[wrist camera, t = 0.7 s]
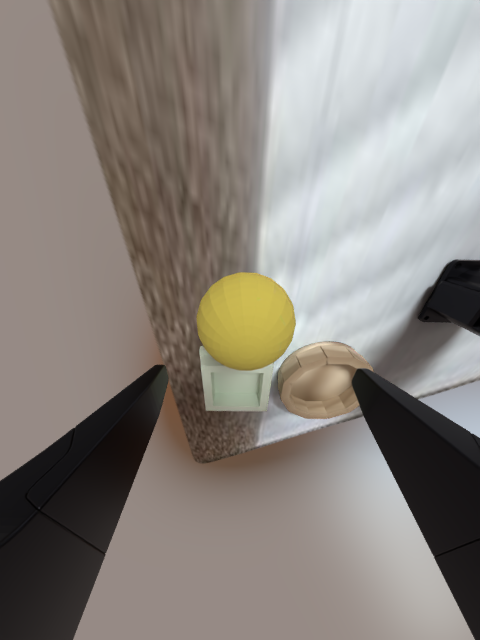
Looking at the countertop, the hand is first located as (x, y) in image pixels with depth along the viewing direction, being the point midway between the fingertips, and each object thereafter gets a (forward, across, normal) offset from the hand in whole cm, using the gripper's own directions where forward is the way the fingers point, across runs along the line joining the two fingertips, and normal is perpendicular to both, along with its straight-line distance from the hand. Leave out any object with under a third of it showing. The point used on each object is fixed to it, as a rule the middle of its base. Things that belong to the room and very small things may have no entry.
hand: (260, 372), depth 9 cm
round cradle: (+12, -10, +12) cm, 19 cm away
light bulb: (+12, +1, 0) cm, 12 cm away
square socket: (+11, +1, +12) cm, 17 cm away
